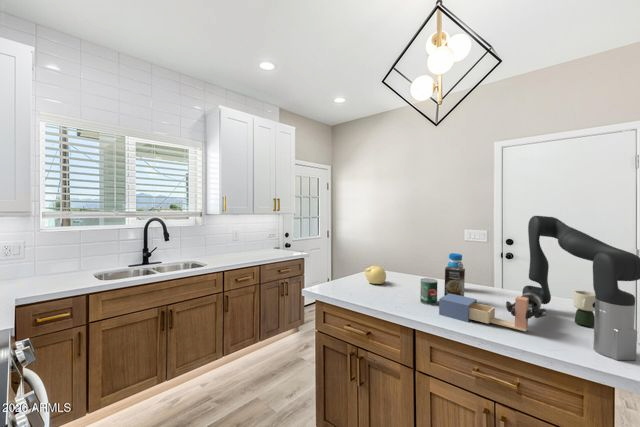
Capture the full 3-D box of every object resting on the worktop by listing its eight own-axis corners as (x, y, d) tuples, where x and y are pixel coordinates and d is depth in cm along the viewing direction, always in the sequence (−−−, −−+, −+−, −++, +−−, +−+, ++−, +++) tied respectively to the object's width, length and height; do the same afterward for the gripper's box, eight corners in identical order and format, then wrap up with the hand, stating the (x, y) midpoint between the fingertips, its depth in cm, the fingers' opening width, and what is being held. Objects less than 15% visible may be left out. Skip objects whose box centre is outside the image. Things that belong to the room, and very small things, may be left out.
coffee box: (443, 300, 150) (444, 268, 149) (445, 296, 156) (445, 266, 155) (463, 303, 146) (464, 270, 145) (464, 299, 151) (465, 268, 151)
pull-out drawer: (529, 326, 116) (529, 296, 116) (524, 332, 110) (525, 301, 110) (467, 311, 132) (467, 285, 132) (460, 316, 126) (460, 289, 126)
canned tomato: (422, 298, 153) (422, 277, 152) (438, 301, 149) (438, 279, 148) (418, 303, 146) (418, 281, 145) (435, 306, 142) (436, 283, 141)
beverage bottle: (447, 290, 166) (448, 255, 166) (446, 286, 175) (446, 252, 174) (464, 292, 164) (464, 255, 163) (461, 287, 172) (462, 253, 171)
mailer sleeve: (476, 314, 131) (476, 299, 130) (468, 322, 123) (468, 305, 123) (448, 308, 139) (449, 293, 139) (439, 314, 131) (439, 298, 131)
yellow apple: (374, 279, 190) (374, 262, 190) (389, 283, 181) (389, 266, 180) (362, 282, 183) (362, 265, 183) (377, 287, 174) (377, 268, 173)
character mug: (596, 331, 114) (597, 298, 113) (571, 326, 119) (572, 294, 118) (597, 323, 121) (598, 292, 121) (574, 318, 126) (575, 288, 126)
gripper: (509, 291, 129) (498, 300, 117) (550, 298, 119) (543, 309, 107) (509, 308, 130) (498, 319, 117) (550, 316, 120) (543, 330, 107)
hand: (520, 314), depth 112 cm, fingers closed on pull-out drawer, 3 cm apart
